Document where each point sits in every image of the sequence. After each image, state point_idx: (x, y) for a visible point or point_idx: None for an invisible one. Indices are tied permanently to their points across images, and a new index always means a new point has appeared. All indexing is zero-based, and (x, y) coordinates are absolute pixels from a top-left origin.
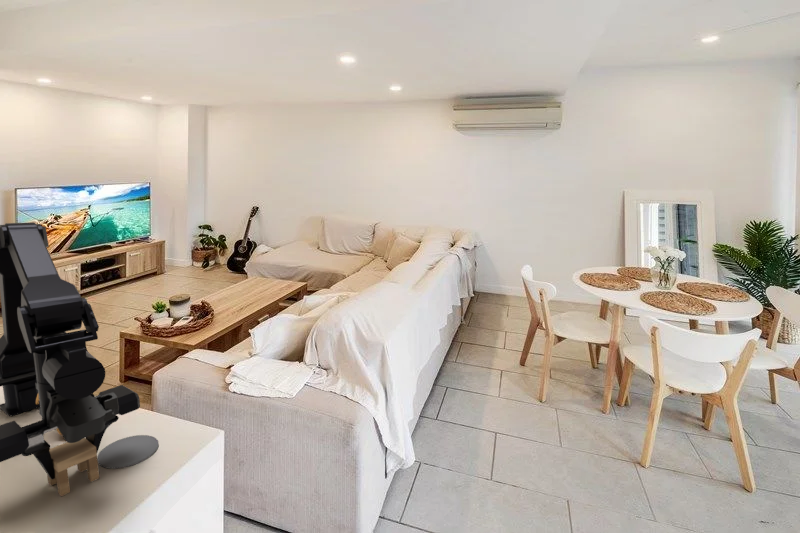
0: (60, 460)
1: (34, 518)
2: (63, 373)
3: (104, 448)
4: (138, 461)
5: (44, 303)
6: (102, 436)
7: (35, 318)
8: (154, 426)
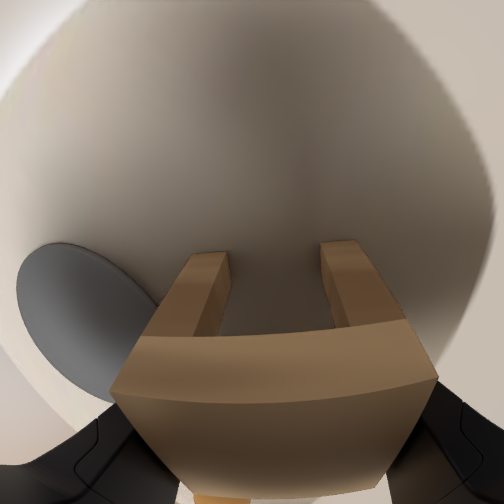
0: (399, 402)
1: (457, 172)
2: None
3: None
4: (56, 246)
5: None
6: (71, 438)
7: None
8: (48, 382)
